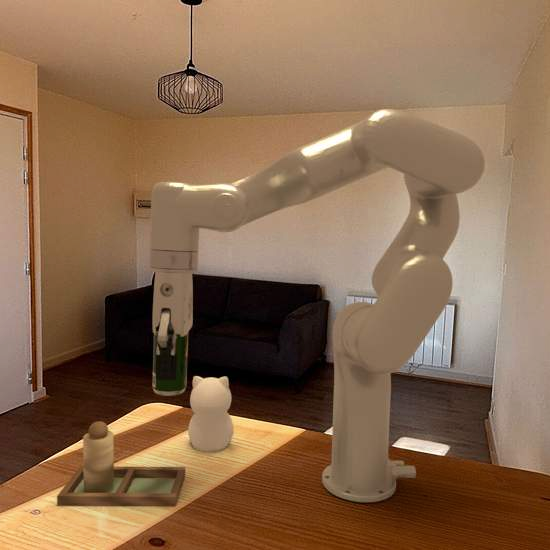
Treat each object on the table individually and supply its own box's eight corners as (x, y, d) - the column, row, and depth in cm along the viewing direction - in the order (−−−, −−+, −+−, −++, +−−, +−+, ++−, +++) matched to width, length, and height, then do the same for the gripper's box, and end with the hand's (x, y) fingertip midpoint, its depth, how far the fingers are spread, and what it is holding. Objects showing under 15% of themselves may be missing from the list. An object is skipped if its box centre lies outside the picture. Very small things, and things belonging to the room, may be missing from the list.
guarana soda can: (159, 398, 76) (161, 321, 75) (147, 388, 80) (149, 315, 79) (191, 393, 79) (194, 319, 78) (178, 384, 83) (181, 314, 82)
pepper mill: (117, 482, 82) (116, 416, 81) (108, 497, 78) (108, 427, 77) (89, 481, 82) (88, 416, 81) (79, 496, 78) (78, 427, 77)
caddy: (185, 480, 85) (185, 466, 85) (175, 511, 76) (175, 496, 75) (80, 479, 85) (80, 466, 84) (57, 511, 75) (57, 496, 75)
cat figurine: (183, 459, 93) (184, 382, 92) (193, 431, 106) (194, 363, 104) (231, 460, 93) (232, 383, 92) (235, 432, 106) (236, 364, 104)
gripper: (189, 266, 69) (184, 392, 71) (204, 260, 86) (200, 361, 88) (135, 264, 69) (132, 389, 71) (161, 257, 86) (158, 359, 88)
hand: (169, 372), depth 79 cm, fingers closed on guarana soda can, 5 cm apart
